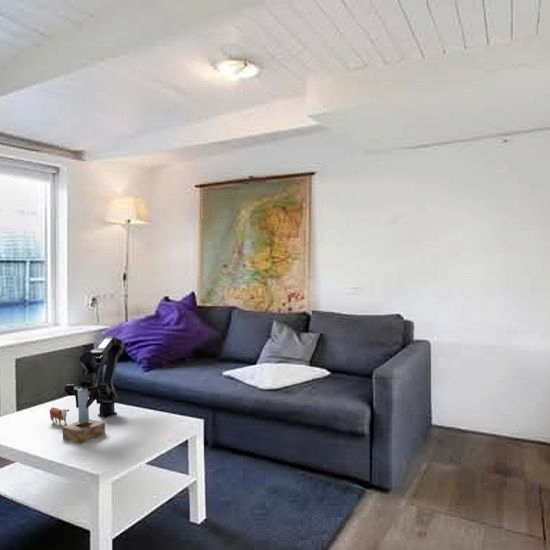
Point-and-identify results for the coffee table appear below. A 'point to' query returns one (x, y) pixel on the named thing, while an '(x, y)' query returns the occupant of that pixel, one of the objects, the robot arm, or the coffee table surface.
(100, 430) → the socket
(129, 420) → the coffee table surface
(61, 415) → the bull figurine
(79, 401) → the dowel
